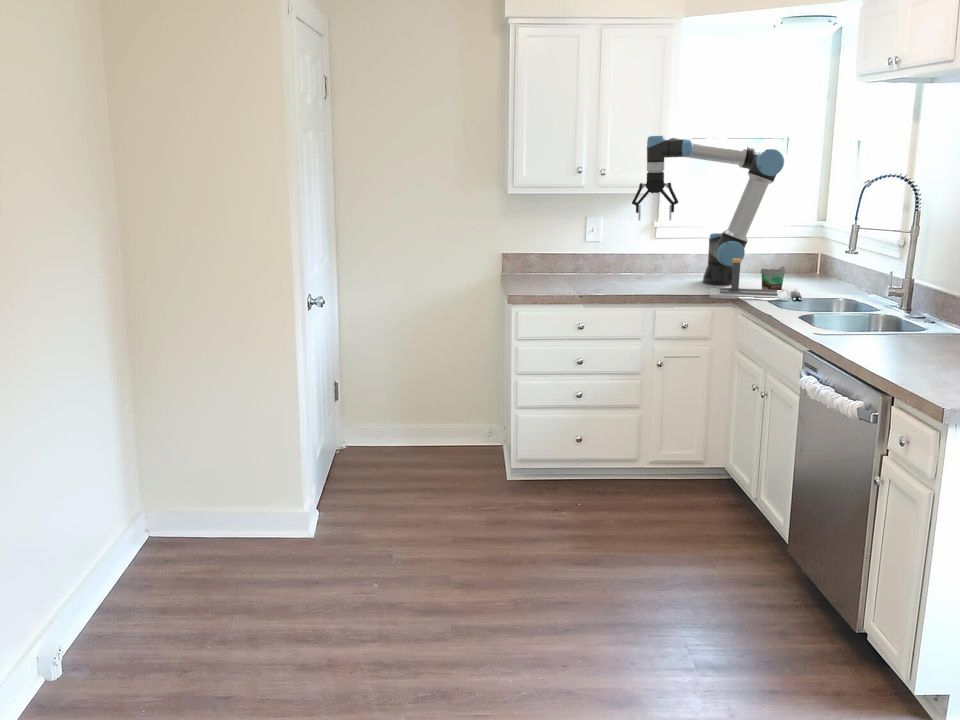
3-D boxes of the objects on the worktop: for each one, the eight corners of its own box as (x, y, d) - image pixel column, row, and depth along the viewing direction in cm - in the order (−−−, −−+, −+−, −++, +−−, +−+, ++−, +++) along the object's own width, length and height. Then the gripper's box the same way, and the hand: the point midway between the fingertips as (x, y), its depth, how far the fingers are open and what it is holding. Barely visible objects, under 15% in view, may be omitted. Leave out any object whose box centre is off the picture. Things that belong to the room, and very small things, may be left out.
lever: (728, 290, 386) (730, 258, 382) (740, 290, 385) (742, 258, 381) (728, 292, 382) (731, 259, 378) (740, 292, 381) (743, 260, 377)
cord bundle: (790, 294, 385) (791, 288, 384) (799, 295, 384) (799, 288, 383) (792, 301, 372) (793, 294, 371) (801, 301, 371) (802, 294, 371)
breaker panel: (710, 291, 393) (710, 285, 392) (785, 294, 385) (785, 288, 384) (709, 297, 380) (710, 292, 379) (787, 301, 372) (788, 295, 371)
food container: (768, 293, 389) (770, 270, 386) (759, 290, 394) (760, 268, 391) (790, 290, 393) (792, 268, 390) (781, 288, 398) (783, 266, 396)
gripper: (626, 173, 387) (625, 221, 393) (683, 171, 381) (682, 220, 387) (627, 171, 394) (627, 219, 400) (684, 170, 388) (683, 218, 394)
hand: (654, 220), depth 393 cm, fingers open, 13 cm apart
